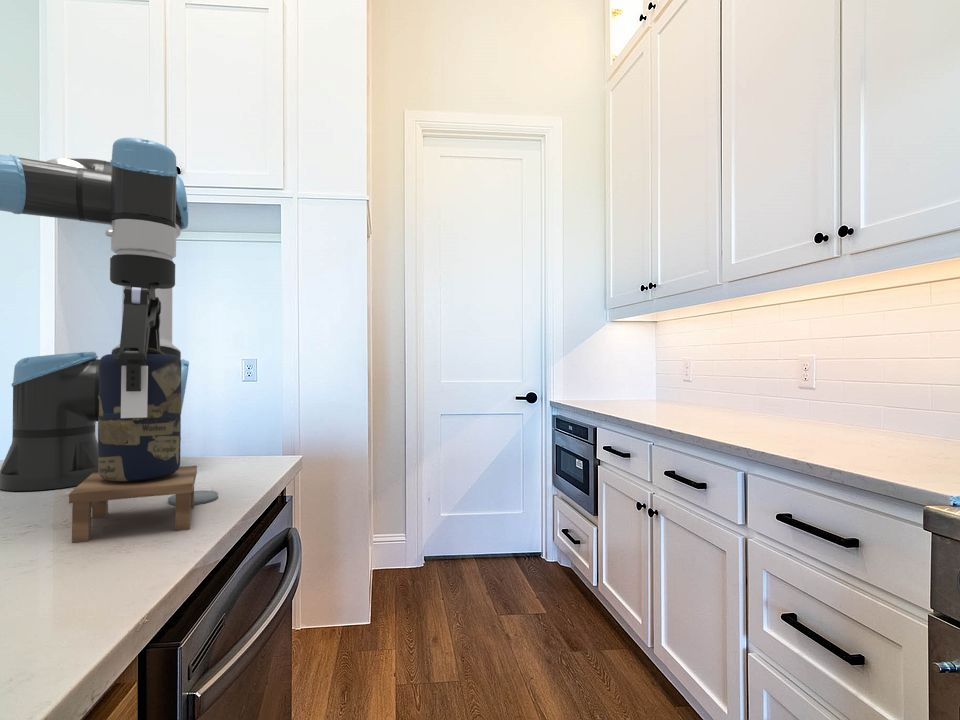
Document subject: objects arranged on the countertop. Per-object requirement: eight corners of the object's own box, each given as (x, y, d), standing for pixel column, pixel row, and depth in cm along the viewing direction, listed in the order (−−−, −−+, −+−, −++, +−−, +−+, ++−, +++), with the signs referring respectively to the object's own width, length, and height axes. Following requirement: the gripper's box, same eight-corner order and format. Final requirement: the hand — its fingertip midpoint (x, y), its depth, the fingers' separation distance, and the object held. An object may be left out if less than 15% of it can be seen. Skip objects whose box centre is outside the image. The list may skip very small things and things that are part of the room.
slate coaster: (170, 496, 84) (170, 493, 84) (218, 492, 87) (218, 488, 87) (165, 507, 78) (165, 503, 78) (218, 502, 81) (218, 498, 81)
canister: (140, 488, 65) (141, 345, 66) (78, 483, 67) (80, 345, 67) (196, 472, 75) (197, 347, 75) (140, 469, 77) (142, 347, 77)
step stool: (92, 515, 74) (92, 472, 74) (196, 504, 80) (196, 465, 80) (68, 543, 62) (68, 493, 62) (191, 529, 68) (192, 483, 68)
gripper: (126, 268, 81) (124, 404, 81) (89, 236, 58) (86, 424, 58) (181, 272, 84) (179, 403, 84) (167, 243, 62) (164, 421, 62)
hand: (141, 412), depth 71 cm, fingers open, 13 cm apart
